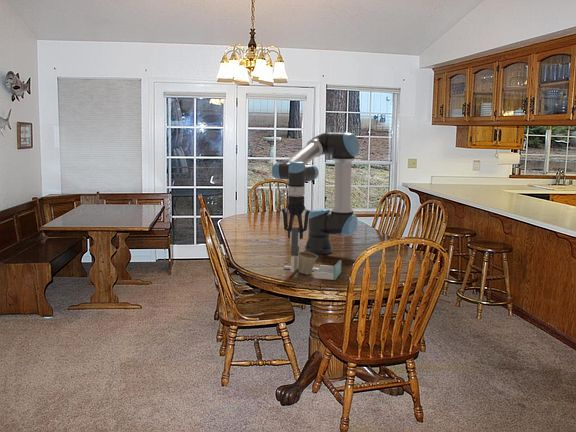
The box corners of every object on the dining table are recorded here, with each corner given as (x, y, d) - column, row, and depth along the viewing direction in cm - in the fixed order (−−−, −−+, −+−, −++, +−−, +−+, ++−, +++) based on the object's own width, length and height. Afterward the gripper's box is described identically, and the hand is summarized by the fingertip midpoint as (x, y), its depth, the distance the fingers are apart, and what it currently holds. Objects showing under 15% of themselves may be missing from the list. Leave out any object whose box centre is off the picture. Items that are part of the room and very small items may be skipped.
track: (284, 267, 296) (284, 265, 296) (319, 270, 291) (319, 268, 291) (283, 268, 294) (283, 266, 294) (318, 271, 290) (318, 269, 289)
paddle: (294, 265, 295) (295, 224, 292) (302, 266, 294) (303, 225, 291) (287, 271, 282) (288, 229, 279) (296, 272, 281) (297, 229, 278)
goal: (320, 271, 291) (320, 258, 290) (340, 272, 288) (341, 260, 287) (313, 278, 277) (314, 265, 277) (335, 279, 275) (335, 266, 274)
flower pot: (310, 277, 280) (314, 259, 278) (291, 271, 283) (295, 253, 281) (317, 273, 288) (320, 255, 287) (298, 267, 291) (302, 250, 290)
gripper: (277, 195, 280) (276, 245, 283) (311, 197, 276) (310, 248, 279) (281, 193, 287) (280, 242, 290) (315, 195, 283) (313, 245, 286)
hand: (295, 245), depth 285 cm, fingers closed on paddle, 3 cm apart
